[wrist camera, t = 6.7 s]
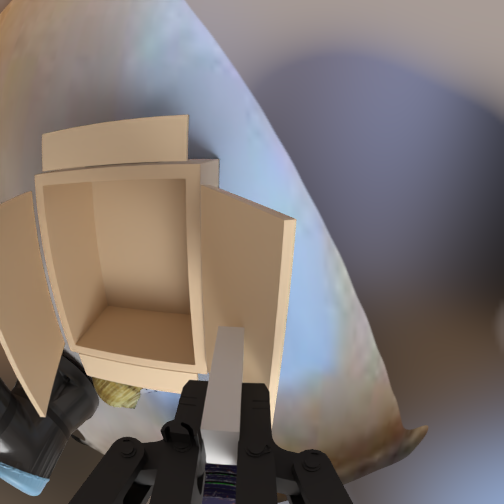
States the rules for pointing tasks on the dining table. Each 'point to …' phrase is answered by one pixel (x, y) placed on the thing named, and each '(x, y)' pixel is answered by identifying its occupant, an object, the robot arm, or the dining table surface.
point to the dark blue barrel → (219, 484)
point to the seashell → (117, 393)
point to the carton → (127, 247)
